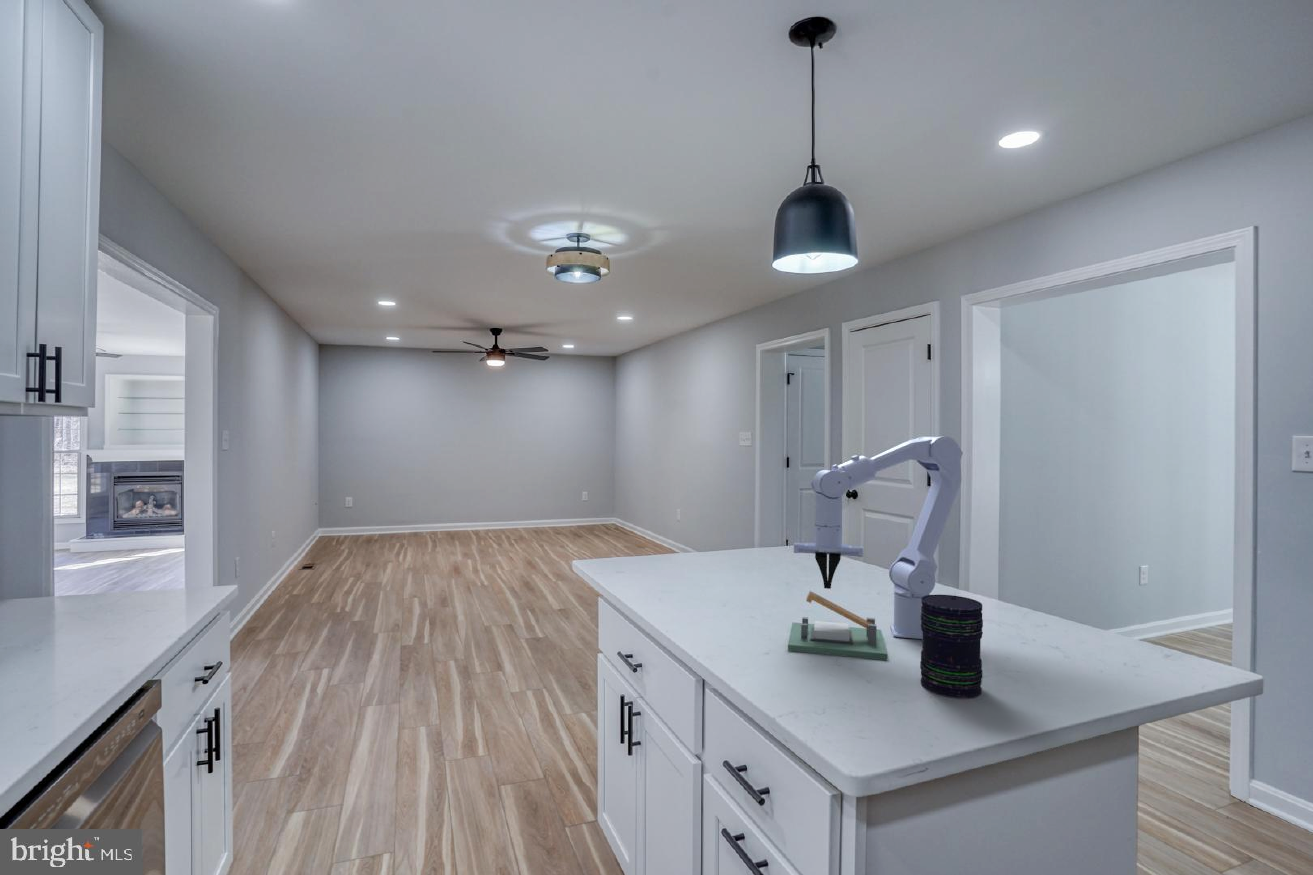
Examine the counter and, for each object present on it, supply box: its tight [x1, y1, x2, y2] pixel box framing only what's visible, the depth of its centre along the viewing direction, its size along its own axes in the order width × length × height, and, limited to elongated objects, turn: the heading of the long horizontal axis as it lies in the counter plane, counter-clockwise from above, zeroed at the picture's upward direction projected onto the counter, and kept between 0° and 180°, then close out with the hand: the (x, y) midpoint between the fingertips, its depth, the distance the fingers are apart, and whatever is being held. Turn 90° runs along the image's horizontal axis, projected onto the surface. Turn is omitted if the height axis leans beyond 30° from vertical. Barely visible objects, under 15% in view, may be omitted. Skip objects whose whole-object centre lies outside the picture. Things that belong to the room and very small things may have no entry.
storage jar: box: [919, 594, 984, 700], centre depth 111 cm, size 10×10×15 cm
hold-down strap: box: [805, 590, 873, 629], centre depth 134 cm, size 15×3×2 cm, turn 75°
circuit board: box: [787, 616, 888, 661], centre depth 134 cm, size 19×16×5 cm
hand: (827, 587), depth 139 cm, fingers closed
